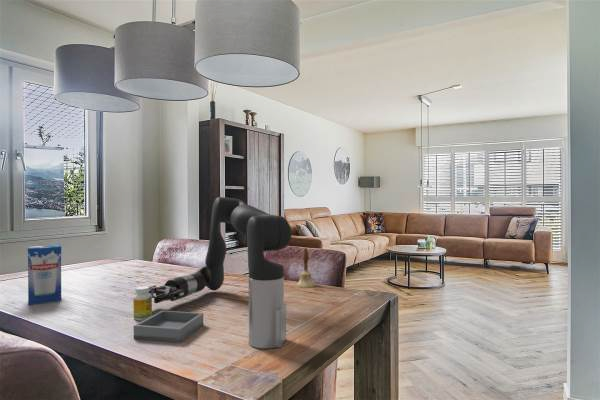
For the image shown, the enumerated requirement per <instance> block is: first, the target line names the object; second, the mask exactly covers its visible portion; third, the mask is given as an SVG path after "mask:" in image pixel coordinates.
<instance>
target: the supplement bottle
mask: <svg viewBox="0 0 600 400" xmlns="http://www.w3.org/2000/svg"><path fill="white" fill-rule="evenodd" d="M149 287H150V286H146V285H145V286H143V285H142V286H138V287H136V288H135V293H137V294H136V295H135V294H134V296H133V297H132V299H133V301H132V302H133V303H132V304H133V305H132V306H133V319H134V320H136V321H144V320H145V319H147V318H149V317H151V316H153V314H152V313H153V306H152V305H153V301H152V299H153V298H152V295H151V294H150V293H149V291H150V290H149Z"/></svg>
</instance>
